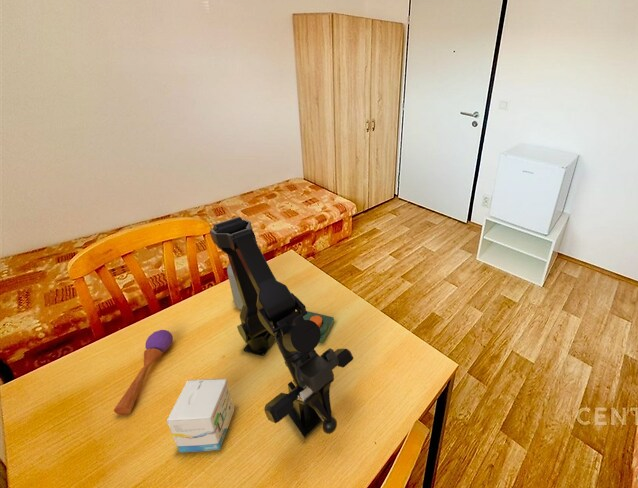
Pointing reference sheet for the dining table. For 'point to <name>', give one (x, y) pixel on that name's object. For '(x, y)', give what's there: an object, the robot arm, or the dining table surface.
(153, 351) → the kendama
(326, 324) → the button panel
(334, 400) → the dining table surface
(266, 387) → the dining table surface
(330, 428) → the lever
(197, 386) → the ink box
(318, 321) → the button
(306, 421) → the bracket
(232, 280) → the water bottle
